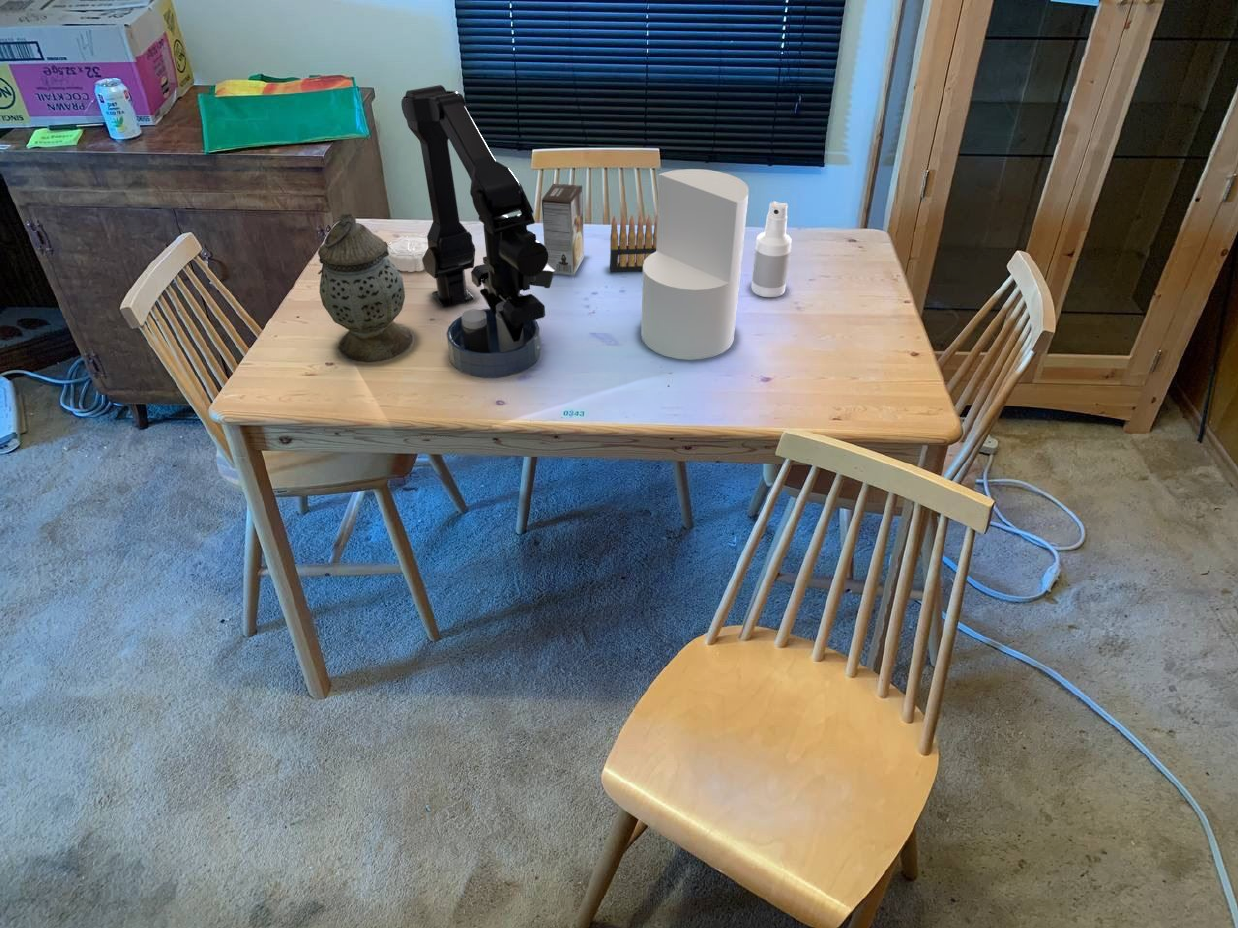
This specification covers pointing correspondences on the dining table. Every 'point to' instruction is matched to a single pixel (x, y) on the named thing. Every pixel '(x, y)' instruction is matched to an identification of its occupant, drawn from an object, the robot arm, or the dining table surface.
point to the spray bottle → (772, 254)
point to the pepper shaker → (476, 331)
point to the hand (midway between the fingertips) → (510, 334)
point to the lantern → (363, 292)
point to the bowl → (494, 351)
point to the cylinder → (694, 264)
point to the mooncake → (408, 252)
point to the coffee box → (563, 227)
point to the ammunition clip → (631, 245)
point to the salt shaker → (505, 333)
